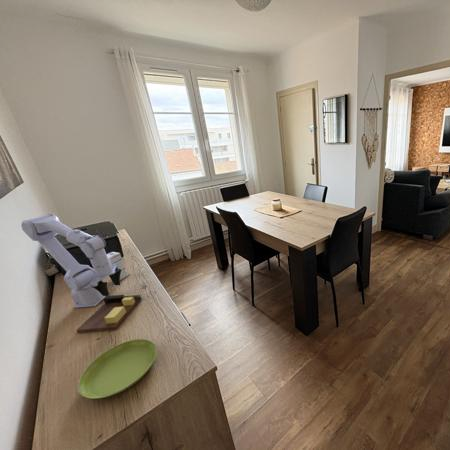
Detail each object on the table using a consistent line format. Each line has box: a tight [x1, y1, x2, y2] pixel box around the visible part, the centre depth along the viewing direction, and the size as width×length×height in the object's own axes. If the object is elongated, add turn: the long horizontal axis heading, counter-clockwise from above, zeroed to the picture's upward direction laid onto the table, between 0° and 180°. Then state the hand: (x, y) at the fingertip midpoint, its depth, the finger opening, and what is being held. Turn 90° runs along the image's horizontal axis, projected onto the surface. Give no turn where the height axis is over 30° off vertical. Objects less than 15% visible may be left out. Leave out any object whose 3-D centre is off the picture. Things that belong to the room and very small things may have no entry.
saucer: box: [77, 338, 157, 400], centre depth 77 cm, size 21×21×3 cm
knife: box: [102, 294, 143, 304], centre depth 110 cm, size 16×2×3 cm, turn 93°
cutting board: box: [76, 299, 142, 334], centre depth 103 cm, size 15×18×2 cm
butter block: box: [105, 307, 126, 324], centre depth 99 cm, size 4×6×3 cm, turn 3°
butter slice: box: [122, 297, 135, 306], centre depth 107 cm, size 4×2×3 cm, turn 93°
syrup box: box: [106, 251, 129, 281], centre depth 129 cm, size 6×6×14 cm
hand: (112, 290), depth 107 cm, fingers open, 7 cm apart
